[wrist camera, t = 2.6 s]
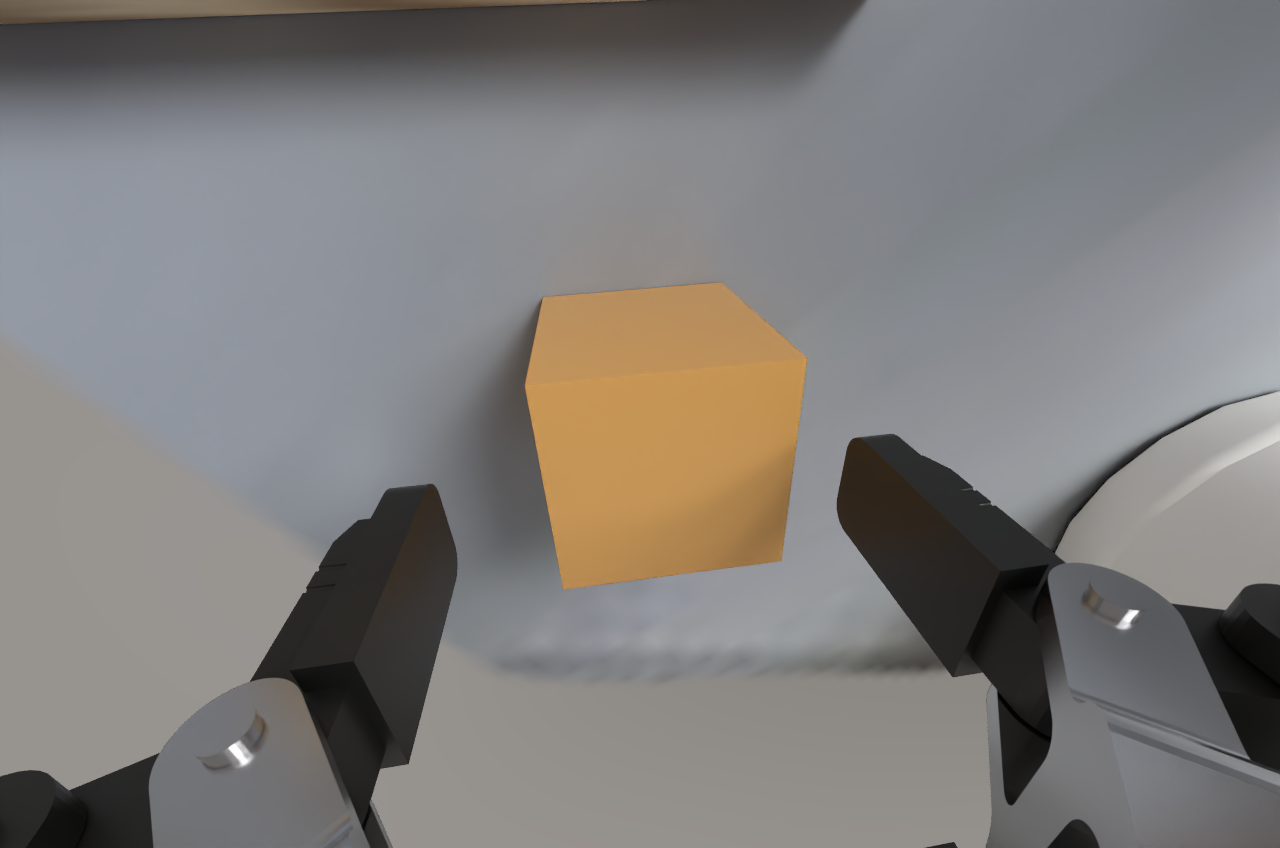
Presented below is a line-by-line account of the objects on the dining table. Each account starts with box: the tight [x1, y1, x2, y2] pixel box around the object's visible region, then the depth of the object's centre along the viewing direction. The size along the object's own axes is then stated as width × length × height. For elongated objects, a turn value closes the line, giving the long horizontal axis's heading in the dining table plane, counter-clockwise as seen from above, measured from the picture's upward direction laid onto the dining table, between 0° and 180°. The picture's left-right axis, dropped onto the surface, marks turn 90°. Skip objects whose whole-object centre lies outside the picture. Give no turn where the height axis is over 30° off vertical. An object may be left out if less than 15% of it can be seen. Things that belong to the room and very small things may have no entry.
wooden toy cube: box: [525, 282, 807, 590], centre depth 13 cm, size 5×5×6 cm
